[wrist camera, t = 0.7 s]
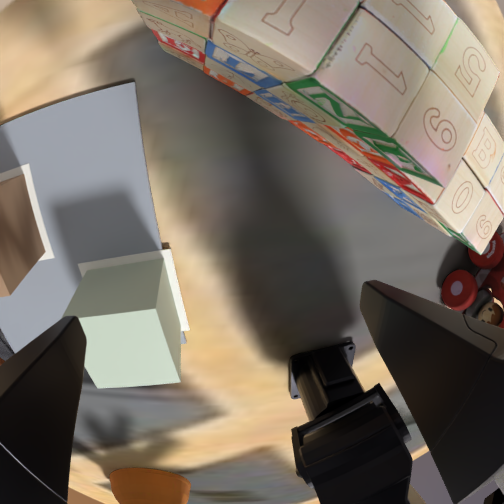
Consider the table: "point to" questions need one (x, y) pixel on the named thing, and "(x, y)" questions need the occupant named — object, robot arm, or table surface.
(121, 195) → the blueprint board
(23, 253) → the walnut block
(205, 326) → the table surface
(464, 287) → the toy fire truck
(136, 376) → the sage block
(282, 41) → the stack of blocks
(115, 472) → the decorative plant
